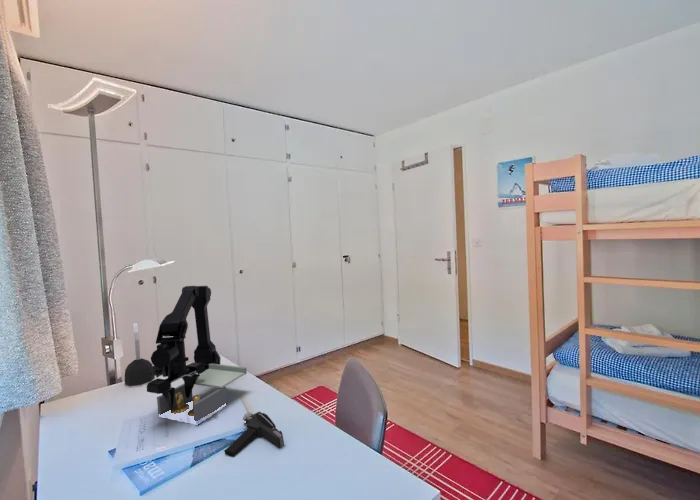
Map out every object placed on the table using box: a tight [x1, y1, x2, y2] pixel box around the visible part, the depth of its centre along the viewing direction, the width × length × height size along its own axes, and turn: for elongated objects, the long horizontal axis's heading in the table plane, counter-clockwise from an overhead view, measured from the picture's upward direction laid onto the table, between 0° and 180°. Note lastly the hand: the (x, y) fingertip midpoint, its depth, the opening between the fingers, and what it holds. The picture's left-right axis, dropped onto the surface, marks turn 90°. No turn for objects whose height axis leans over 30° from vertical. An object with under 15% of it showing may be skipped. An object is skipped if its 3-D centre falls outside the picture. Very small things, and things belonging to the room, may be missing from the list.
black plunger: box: [124, 322, 156, 389], centre depth 147 cm, size 11×11×25 cm
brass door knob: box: [171, 392, 189, 414], centre depth 118 cm, size 6×6×6 cm
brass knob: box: [188, 394, 201, 416], centre depth 115 cm, size 6×6×6 cm
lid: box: [194, 363, 248, 389], centre depth 128 cm, size 13×17×2 cm
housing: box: [156, 383, 228, 421], centre depth 118 cm, size 13×17×7 cm
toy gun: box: [223, 411, 285, 458], centre depth 101 cm, size 5×21×15 cm
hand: (179, 401), depth 118 cm, fingers open, 6 cm apart
